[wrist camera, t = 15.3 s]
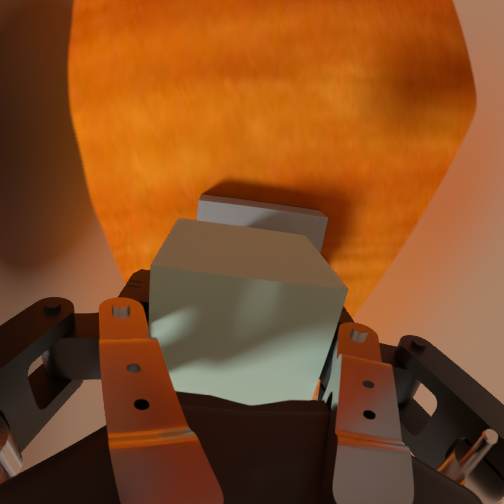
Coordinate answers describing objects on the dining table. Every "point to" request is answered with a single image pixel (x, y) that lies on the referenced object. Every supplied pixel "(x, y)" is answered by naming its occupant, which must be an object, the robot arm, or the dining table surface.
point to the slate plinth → (264, 216)
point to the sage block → (243, 311)
